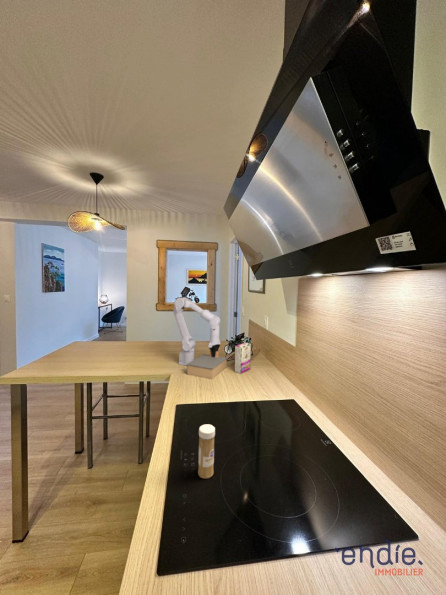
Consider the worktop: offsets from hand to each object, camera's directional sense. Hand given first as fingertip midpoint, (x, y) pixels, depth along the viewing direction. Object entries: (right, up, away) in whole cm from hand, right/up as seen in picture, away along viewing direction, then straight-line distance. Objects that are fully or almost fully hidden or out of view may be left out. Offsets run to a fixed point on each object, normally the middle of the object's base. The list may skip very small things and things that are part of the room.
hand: (214, 356), depth 163 cm
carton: (-4, -7, -8) cm, 11 cm away
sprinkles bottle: (+1, -13, -90) cm, 91 cm away
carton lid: (-3, -1, -8) cm, 9 cm away
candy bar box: (+18, -8, -6) cm, 20 cm away
